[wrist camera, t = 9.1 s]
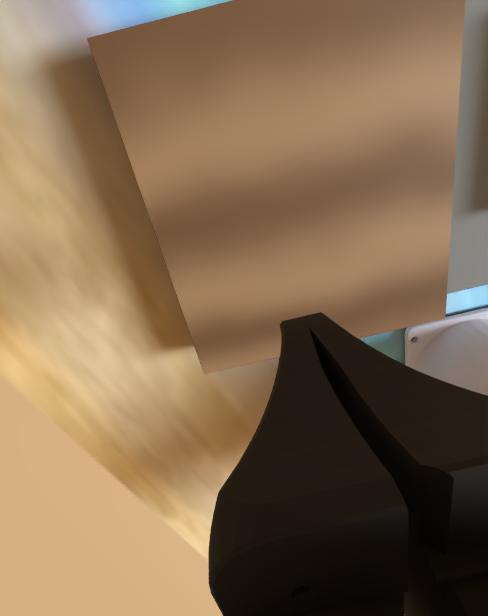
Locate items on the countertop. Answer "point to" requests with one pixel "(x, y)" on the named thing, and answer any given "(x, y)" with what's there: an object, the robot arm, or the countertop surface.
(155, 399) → the countertop surface
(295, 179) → the brown wooden slab
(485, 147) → the mat
